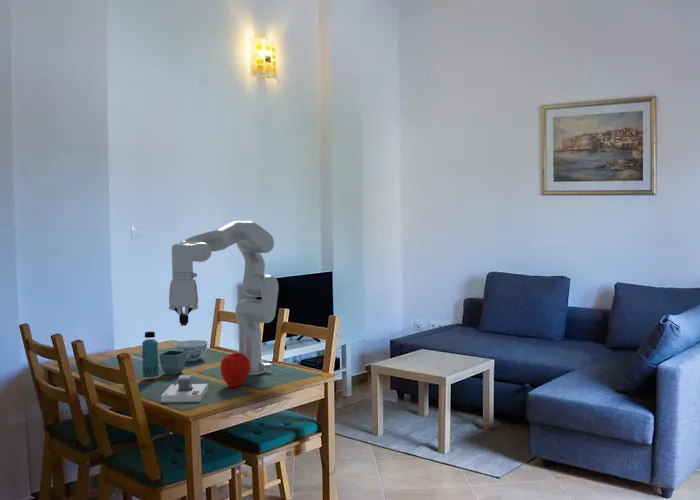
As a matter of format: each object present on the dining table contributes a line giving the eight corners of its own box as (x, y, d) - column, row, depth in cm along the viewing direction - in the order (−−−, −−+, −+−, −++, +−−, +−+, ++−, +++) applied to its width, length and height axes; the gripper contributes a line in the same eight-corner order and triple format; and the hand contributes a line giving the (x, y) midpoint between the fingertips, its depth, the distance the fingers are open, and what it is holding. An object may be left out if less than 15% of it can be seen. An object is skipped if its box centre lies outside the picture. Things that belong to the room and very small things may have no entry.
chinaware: (175, 356, 330) (175, 340, 329) (208, 355, 332) (207, 339, 332) (174, 363, 315) (173, 347, 314) (207, 362, 318) (207, 345, 317)
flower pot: (178, 376, 292) (178, 355, 291) (159, 375, 293) (158, 354, 293) (187, 371, 300) (187, 351, 300) (168, 370, 302) (168, 350, 301)
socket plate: (207, 390, 269) (207, 382, 269) (199, 401, 253) (199, 393, 253) (171, 390, 269) (171, 382, 269) (161, 402, 253) (161, 394, 253)
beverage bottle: (152, 376, 291) (151, 329, 290) (162, 379, 287) (161, 331, 286) (139, 379, 286) (138, 332, 285) (148, 382, 282) (147, 333, 281)
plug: (192, 393, 263) (191, 374, 263) (189, 396, 259) (189, 377, 258) (181, 393, 263) (180, 375, 263) (178, 396, 259) (177, 377, 258)
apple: (245, 390, 267) (244, 356, 267) (216, 389, 269) (215, 355, 269) (254, 383, 279) (253, 350, 278) (226, 382, 281) (225, 349, 280)
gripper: (204, 275, 262) (205, 323, 264) (165, 275, 262) (166, 323, 263) (200, 277, 255) (202, 326, 256) (160, 277, 254) (161, 327, 256)
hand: (184, 325), depth 260 cm, fingers closed
